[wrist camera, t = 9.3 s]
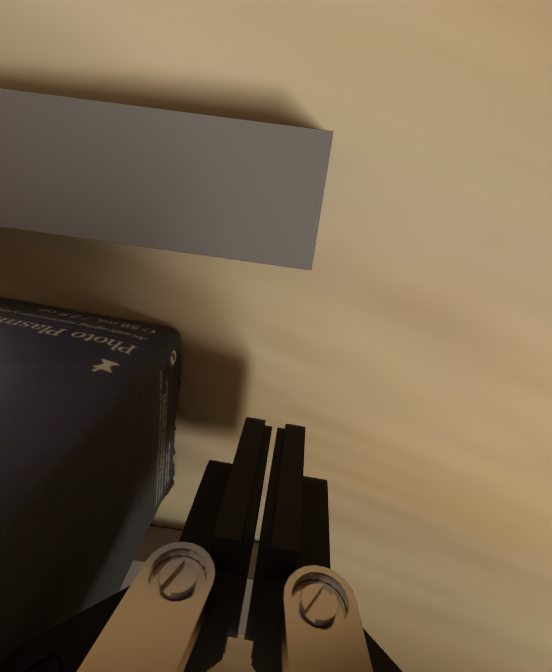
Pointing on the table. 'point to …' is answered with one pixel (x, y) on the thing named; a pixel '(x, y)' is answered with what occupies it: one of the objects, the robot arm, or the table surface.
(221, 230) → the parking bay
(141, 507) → the small box
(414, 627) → the table surface
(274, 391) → the table surface
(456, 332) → the table surface
